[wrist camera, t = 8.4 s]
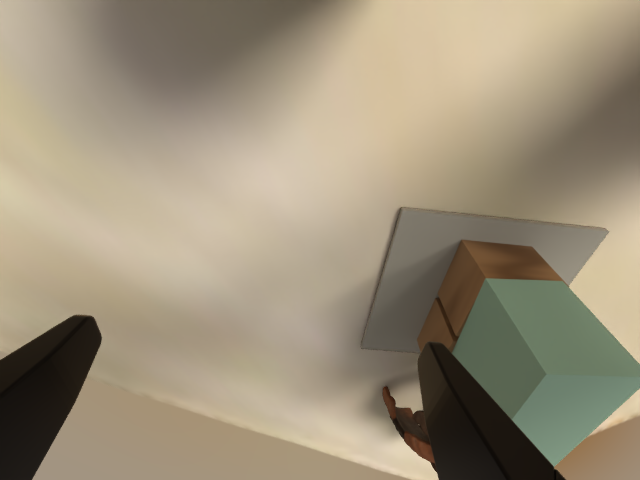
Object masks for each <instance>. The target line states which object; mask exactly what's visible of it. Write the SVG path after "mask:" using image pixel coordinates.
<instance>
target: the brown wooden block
mask: <svg viewBox="0 0 640 480" xmlns="http://www.w3.org/2000/svg"><path fill="white" fill-rule="evenodd" d="M458 338H459V336H456V335H455V333H454V331H453V328H452V326H451V324H450V321H449V319H448V317H447V314H446V312H445V310H444V307H443V305H442V303H441V300H440V298H435V300H434V302H433V305H432V307H431V309H430V311H429V314H428V316H427V318H426V320H425V323H424V325H423V327H422V329H421V332H420V334H419V336H418V338H417V342H418V345H419V348H420V352H422V350H423V348H424V346H425V344H426V343H427V342H429V341H431V342H441V343H442V344H444V345H445V346H446V347H447V348H448V350H449V351H450V352H451V353H452V352H453V349H454V347H455V345H456V343H457V341H458Z"/></svg>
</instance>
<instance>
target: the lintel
mask: <svg viewBox="0 0 640 480" xmlns="http://www.w3.org/2000/svg"><path fill="white" fill-rule="evenodd" d="M452 354H453V355H454V356H455V357H456V358H457V359H458V361H459V362H460V363H461V364H462V365H463V366H464V367H465V368H466V369H467V371H468V372H469V373H470V374H471V375H472V376H473V377H474V378H475V379H476V381H477V382H478V383H479V384H480V385H481V386H482V387H483V388H484V389H485V391H486V392H487V393H488V394H489V395H490V396H491V397H492V398H493V399H494V401H495V402H496V403H497V404H498V405H499V406H500V407H501V408H502V409H503V411H504V412H505V413H506V414H507V415H508V416H509V417H510V418H511V419H512V421H513V422H514V423H515V424H516V425H517V426H518V427H519V428H520V429H521V431H522V432H523V433H524V434H525V435H526V436H527V437H528V438H529V439H530V441H531V442H532V443H533V444H534V445H535V446H536V447H537V448H538V449H539V450H540V452H541V453H542V454H543V455H544V456H545V457H546V458H547V459H548V460H549V462H550V463H551V464H552V465H553V466H555V465H556V464H558V463H559V462H560V461H561V460H562V459H563V458H564V457H565V456H566V455H567V454H568V453H569V452H571V451H572V450H573V449H574V448H575V447H576V446H577V445H578V444H579V443H580V442H582V441H583V440H584V439H585V438H586V437H587V436H588V435H589V434H590V433H591V432H593V431H594V430H595V429H596V428H597V427H598V426H599V425H600V424H601V423H602V422H603V421H604V420H606V419H607V418H608V417H609V416H610V415H611V414H612V413H613V412H614V411H615V410H616V409H618V408H619V407H620V406H621V405H622V404H623V403H624V402H625V401H626V400H627V399H628V398H630V397H631V396H632V395H633V394H634V393H635V392H636V391H637V390H638V389H639V388H640V364H639V363H638V362H637V361H636V360H635V359H634V358H633V357H632V356H631V355H630V353H629V352H628V351H627V350H626V349H625V348H624V347H623V346H622V345H621V344H620V343H619V342H618V340H617V339H616V338H615V337H614V336H613V335H612V334H611V333H610V332H609V331H608V330H607V328H606V327H605V326H604V325H603V324H602V323H601V322H600V321H599V320H598V319H597V318H596V317H595V315H594V314H593V313H592V312H591V311H590V310H589V309H588V308H587V307H586V306H585V305H584V304H583V302H582V301H581V300H580V299H579V298H578V297H577V296H576V295H575V294H574V293H573V292H572V291H571V289H570V288H569V287H568V286H567V285H566V284H565V283H564V282H563V281H547V280H519V279H491V278H485V280H484V283H483V285H482V287H481V289H480V292H479V294H478V296H477V298H476V300H475V303H474V305H473V307H472V309H471V312H470V314H469V316H468V318H467V320H466V323H465V325H464V327H463V329H462V332H461V334H460V336H459V338H458V341H457V343H456V345H455V347H454V349H453V352H452Z"/></svg>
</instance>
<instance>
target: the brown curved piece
mask: <svg viewBox="0 0 640 480" xmlns="http://www.w3.org/2000/svg"><path fill="white" fill-rule="evenodd" d="M383 399H384V402H385V404H386V406H387V408H388V411H389V414H390V418H391V419H392V421H393V423H394V425H395V427H396V429H397V431H398V432H399V434H400V435H401V437H402V438H403V439H404V441H405V442H406V444H407V445H408V446H410V448H411V449H412V450H413V451H415V452H416V453H417V454H418V455H419V456H420V457H422V458H424V459H426V460H428V461H430V462H431V465H432V467H433V468H434V470H435V471H436V472H437V470H436V466H435V461H434V457H433V453H432V449H431V445H430V441H429V436H428V432H427V428H426V423H425V417H424V411H416V412H415V413H414V414H413V413H412V410H411V409H410V408H405V409H403V408H401V409H400V408H396V407H395V404H396V402H395V399H394V398H393V397H392V396H390V391H389V389H388V387H384V388H383ZM418 424H419V425H418Z"/></svg>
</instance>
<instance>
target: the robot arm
mask: <svg viewBox="0 0 640 480" xmlns="http://www.w3.org/2000/svg"><path fill="white" fill-rule="evenodd" d="M101 340H102V336H101V333H100V330H99V328H98V326H97V323H96V321H95V319H94V317H92V316H90V315H74V316H72V317H70V318H68V319H67V320H65V321H63V322H62V323H60V324H58V325H57V326H55V327H53V328H52V329H50V330H49V331H47V332H45V333H44V334H42V335H40V336H39V337H37V338H35V339H34V340H32V341H31V342H29V343H27V344H26V345H24V346H22V347H21V348H19V349H17V350H16V351H14V352H13V353H11V354H9V355H8V356H6V357H5V358H3V359H1V360H0V480H32V479H33V477H34V475H35V473H36V471H37V470H38V468H39V466H40V464H41V462H42V461H43V459H44V457H45V455H46V454H47V452H48V450H49V448H50V446H51V444H52V443H53V441H54V439H55V437H56V436H57V434H58V432H59V430H60V428H61V427H62V425H63V423H64V421H65V420H66V418H67V415H68V414H69V412H70V411H71V409H72V407H73V405H74V403H75V401H76V399H77V397H78V395H79V392H80V391H81V388H82V386H83V384H84V381H85V379H86V377H87V375H88V372H89V370H90V368H91V365H92V363H93V361H94V358H95V356H96V354H97V351H98V349H99V347H100V344H101ZM418 373H419V380H420V388H421V395H422V403H423V410H424V417H425V423H426V428H427V432H428V436H429V441H430V445H431V449H432V453H433V457H434V461H435V466H436V470H437V474H438V478H439V480H566V479H565V478H564V477H563V476H562V475H561V474H560V473H559V472H558V470H554V466H553V465H552V464H551V463H550V462H549V460H548V459H547V458H546V457H545V456H544V455H543V454H542V453H541V452H540V450H539V449H538V448H537V447H536V446H535V445H534V444H533V443H532V442H531V441H530V439H529V438H528V437H527V436H526V435H525V434H524V433H523V432H522V431H521V429H520V428H519V427H518V426H517V425H516V424H515V423H514V422H513V421H512V419H511V418H510V417H509V416H508V415H507V414H506V413H505V412H504V411H503V409H502V408H501V407H500V406H499V405H498V404H497V403H496V402H495V401H494V399H493V398H492V397H491V396H490V395H489V394H488V393H487V392H486V391H485V389H484V388H483V387H482V386H481V385H480V384H479V383H478V382H477V381H476V379H475V378H474V377H473V376H472V375H471V374H470V373H469V372H468V371H467V369H466V368H465V367H464V366H463V365H462V364H461V363H460V362H459V361H458V359H457V358H456V357H455V356H454V355H453V354H452V353H451V352H450V351H449V350H448V348H447V347H446V346H445V345H444V344H442V343H441V342H431V341H429V342H427V343H426V344H425V346H424V348H423V350H422V352H421V354H420V356H419V359H418Z"/></svg>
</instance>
